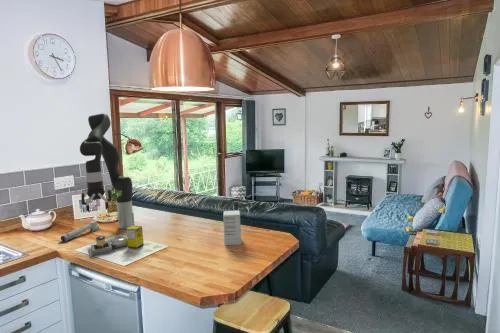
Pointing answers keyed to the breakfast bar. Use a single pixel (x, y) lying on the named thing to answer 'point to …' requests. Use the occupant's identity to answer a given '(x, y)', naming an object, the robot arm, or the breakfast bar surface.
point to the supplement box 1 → (135, 236)
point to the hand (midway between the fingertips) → (97, 210)
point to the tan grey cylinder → (100, 242)
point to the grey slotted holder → (107, 247)
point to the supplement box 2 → (232, 227)
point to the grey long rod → (80, 231)
